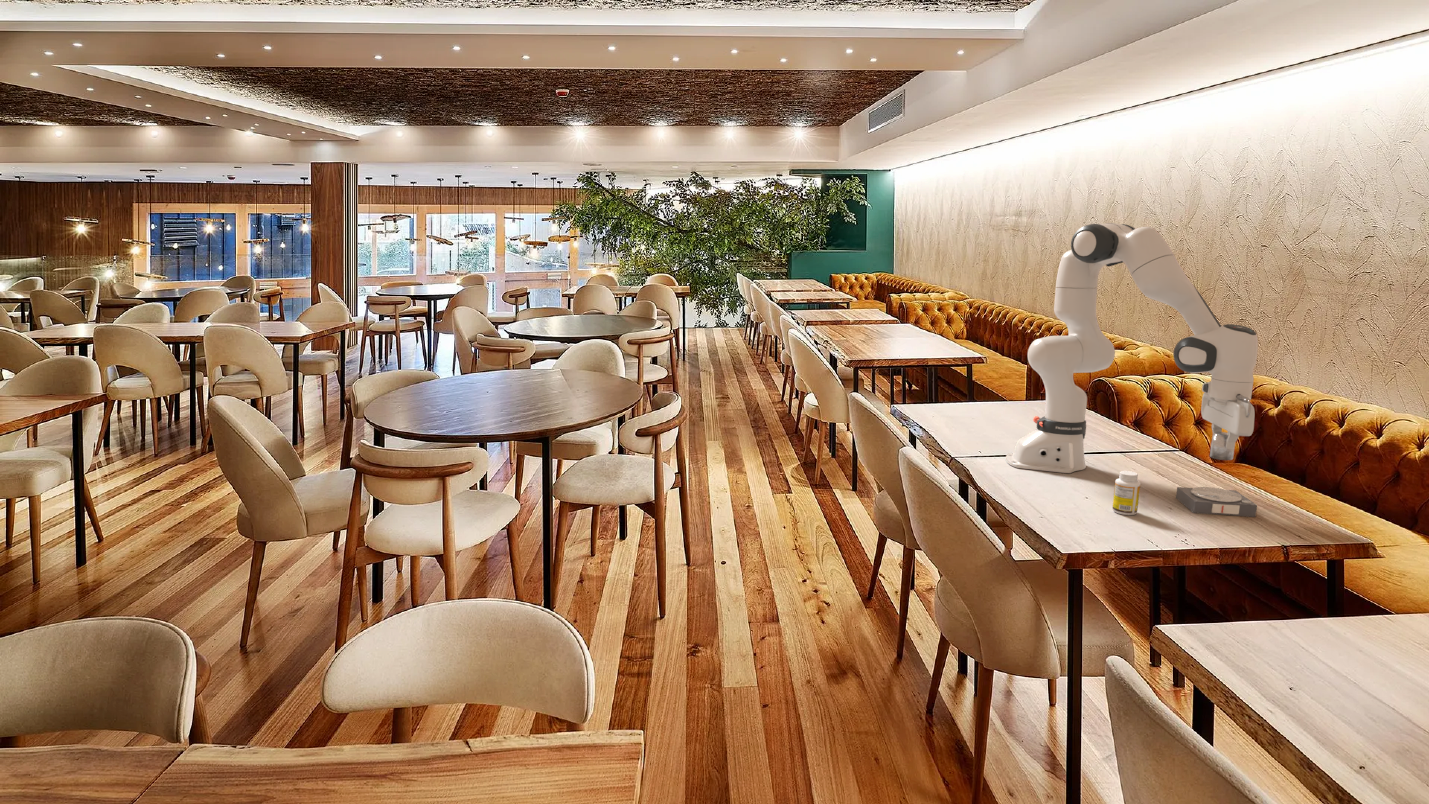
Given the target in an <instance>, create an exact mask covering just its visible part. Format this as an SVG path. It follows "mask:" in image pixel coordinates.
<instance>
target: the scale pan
mask: <svg viewBox="0 0 1429 804" xmlns="http://www.w3.org/2000/svg"><path fill="white" fill-rule="evenodd" d="M1192 488H1193V489H1191V494H1192V495H1194V496H1196V497H1198V498H1201V499H1205V500H1209V501H1214V502H1222V503H1236V502H1240V501H1241V500H1242V496H1241V495H1239V494H1237V493H1235V492H1232V491H1229V490H1230V489H1223V488H1218V487H1210V486H1197V487H1192Z"/></svg>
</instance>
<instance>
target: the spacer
mask: <svg viewBox="0 0 1429 804" xmlns="http://www.w3.org/2000/svg"><path fill="white" fill-rule="evenodd" d="M1227 433H1228V432H1227V431H1226V432H1225V431H1222V432H1212V437H1211V443H1210V452H1209V457H1210V458H1211V459H1216V460H1221V461H1232V460H1233V459H1234V455H1235V449H1236V448H1235V447H1236V446H1235V447H1234V449H1227V448H1225V447H1224V442H1225V441H1226V440H1227V438H1228V435H1227Z"/></svg>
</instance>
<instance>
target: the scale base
mask: <svg viewBox="0 0 1429 804" xmlns="http://www.w3.org/2000/svg"><path fill="white" fill-rule="evenodd" d="M1193 488H1194V487H1183V486H1181V487H1180V486H1177V488H1176V495H1175V499H1177V500H1178V502H1180V503H1182V505H1183V506H1185V507H1186V508H1187V509H1188V510H1190V511H1191V512H1192V513H1193V514H1206V515H1221V516H1236V517H1253V518H1256V515H1257V510H1258V509H1257V508H1258V505H1257V504H1256V503H1255V502H1254V501H1252V500H1251V499H1248V498H1247V497H1246V496H1245V495H1243V494H1241V493H1240V492H1238V491H1237V490H1235V489H1234V490H1233V489H1228V490H1229V491H1232V492H1235V493H1237V494H1239V495H1241V496H1242V500H1241V501H1240V502H1236V503H1222V502H1214V501H1209V500H1205V499H1201V498H1198V497H1196V496H1194V495H1192V494H1191V489H1193Z"/></svg>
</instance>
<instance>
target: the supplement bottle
mask: <svg viewBox="0 0 1429 804" xmlns="http://www.w3.org/2000/svg"><path fill="white" fill-rule="evenodd" d="M1118 477H1119V478H1116V479H1115V481H1114V482H1115V483H1114V491H1113V492H1114V493H1113V501H1112V510H1113V512H1115V513H1117V514H1118V515H1123V516H1135V515H1136V514H1137V513H1138V507H1139V498H1140V492H1141V491H1140V490H1141V482H1140V481H1139V479H1138V473H1137V472H1135V471H1131V470H1130V471H1129V470H1121V471H1119V476H1118Z"/></svg>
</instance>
